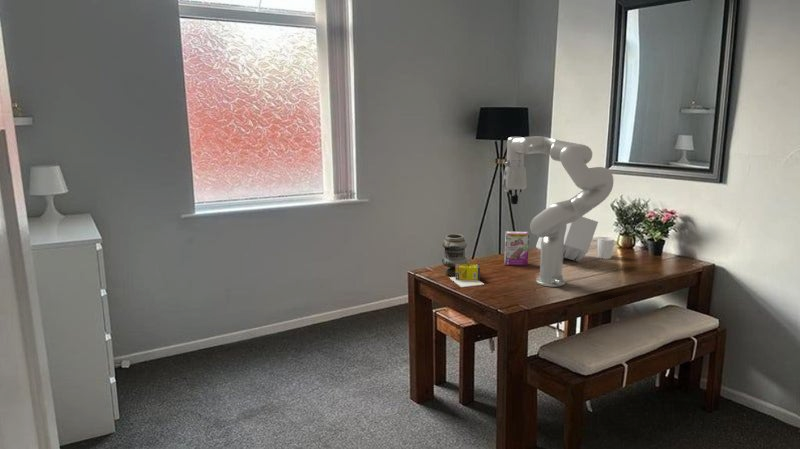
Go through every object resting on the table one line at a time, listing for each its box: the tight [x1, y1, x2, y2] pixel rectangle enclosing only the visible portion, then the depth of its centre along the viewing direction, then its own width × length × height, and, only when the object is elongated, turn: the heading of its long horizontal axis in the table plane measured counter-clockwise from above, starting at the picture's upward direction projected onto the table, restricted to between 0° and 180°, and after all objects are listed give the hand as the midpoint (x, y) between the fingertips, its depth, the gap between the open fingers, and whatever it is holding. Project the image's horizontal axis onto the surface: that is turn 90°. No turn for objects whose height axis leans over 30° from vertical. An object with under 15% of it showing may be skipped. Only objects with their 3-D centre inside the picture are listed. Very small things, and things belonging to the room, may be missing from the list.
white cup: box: [596, 236, 615, 260], centre depth 278 cm, size 8×8×10 cm
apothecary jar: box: [441, 233, 468, 276], centre depth 255 cm, size 12×12×18 cm
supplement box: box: [455, 263, 481, 281], centre depth 246 cm, size 6×6×11 cm
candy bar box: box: [504, 231, 530, 267], centre depth 267 cm, size 11×5×16 cm, turn 84°
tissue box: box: [535, 216, 599, 263], centre depth 273 cm, size 20×16×25 cm
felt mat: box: [449, 276, 485, 288], centre depth 243 cm, size 14×11×1 cm
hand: (514, 203), depth 249 cm, fingers closed
